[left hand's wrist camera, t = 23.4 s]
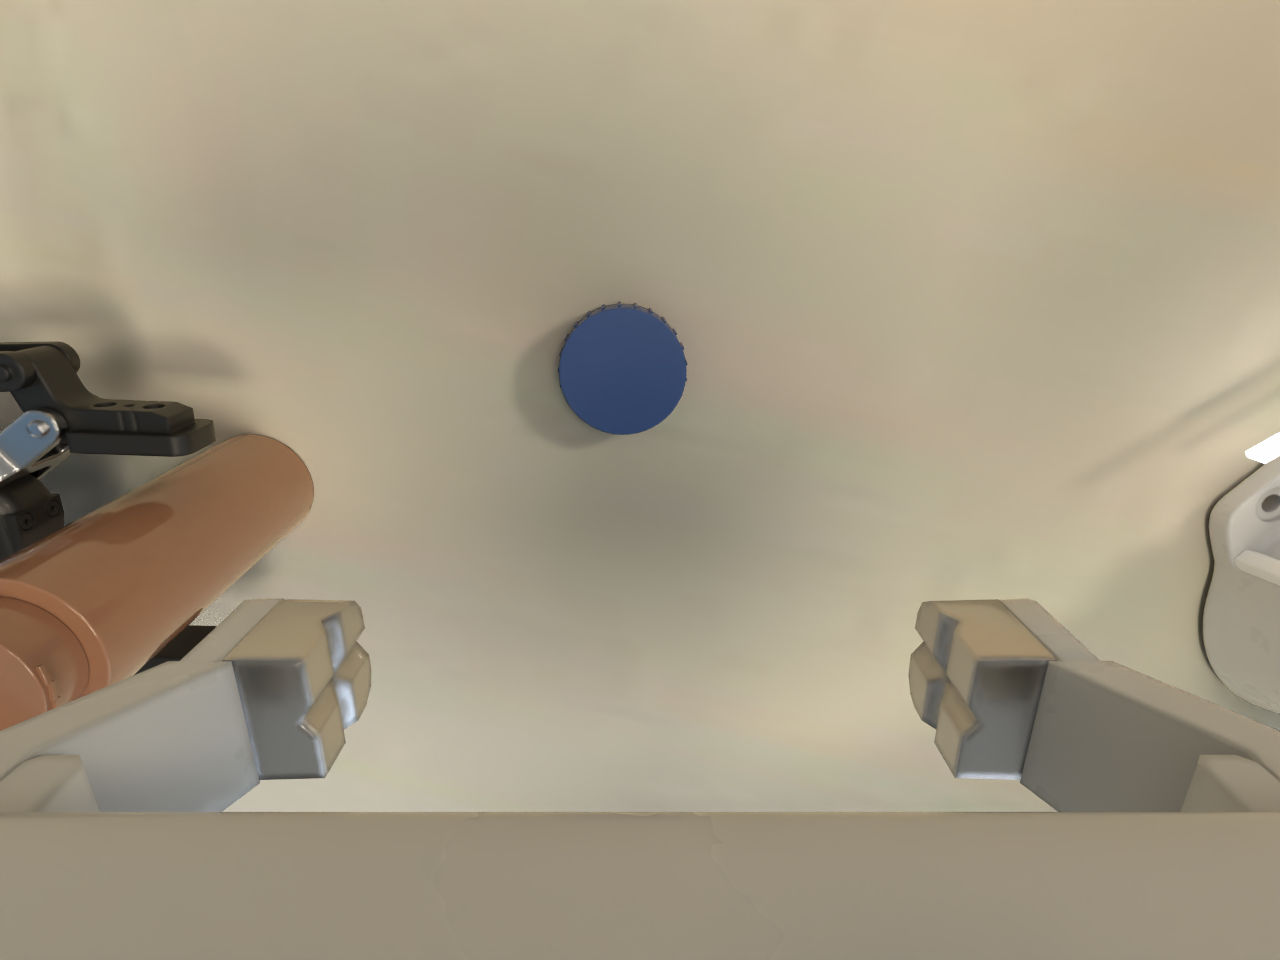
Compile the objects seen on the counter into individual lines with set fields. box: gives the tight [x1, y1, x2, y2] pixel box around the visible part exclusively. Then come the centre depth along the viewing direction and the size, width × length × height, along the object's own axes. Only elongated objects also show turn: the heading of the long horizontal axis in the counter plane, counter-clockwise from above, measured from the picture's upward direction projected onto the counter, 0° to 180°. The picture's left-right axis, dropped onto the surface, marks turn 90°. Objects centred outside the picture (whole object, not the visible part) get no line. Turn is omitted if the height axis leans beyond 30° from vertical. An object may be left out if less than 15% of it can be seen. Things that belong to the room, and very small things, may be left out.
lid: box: [558, 302, 687, 435], centre depth 29 cm, size 5×5×2 cm
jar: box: [0, 435, 314, 731], centre depth 24 cm, size 5×5×15 cm
